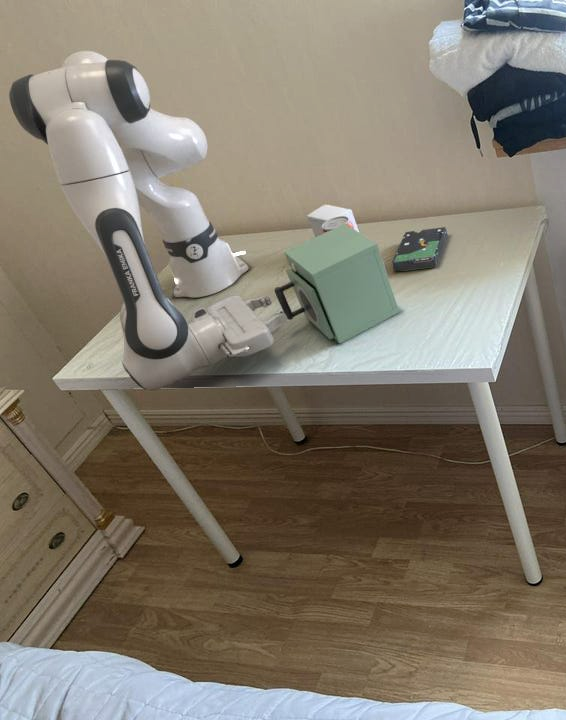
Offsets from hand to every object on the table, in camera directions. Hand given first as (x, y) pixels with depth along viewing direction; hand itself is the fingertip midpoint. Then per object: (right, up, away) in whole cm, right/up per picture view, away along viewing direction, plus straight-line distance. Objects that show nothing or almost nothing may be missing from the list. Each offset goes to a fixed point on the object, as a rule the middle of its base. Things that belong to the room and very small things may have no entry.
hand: (277, 307), depth 141 cm
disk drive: (+28, +14, +21) cm, 37 cm away
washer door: (+7, -5, +1) cm, 8 cm away
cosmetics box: (+7, +16, +32) cm, 37 cm away
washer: (+15, -1, +5) cm, 16 cm away
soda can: (+12, +9, +21) cm, 26 cm away
